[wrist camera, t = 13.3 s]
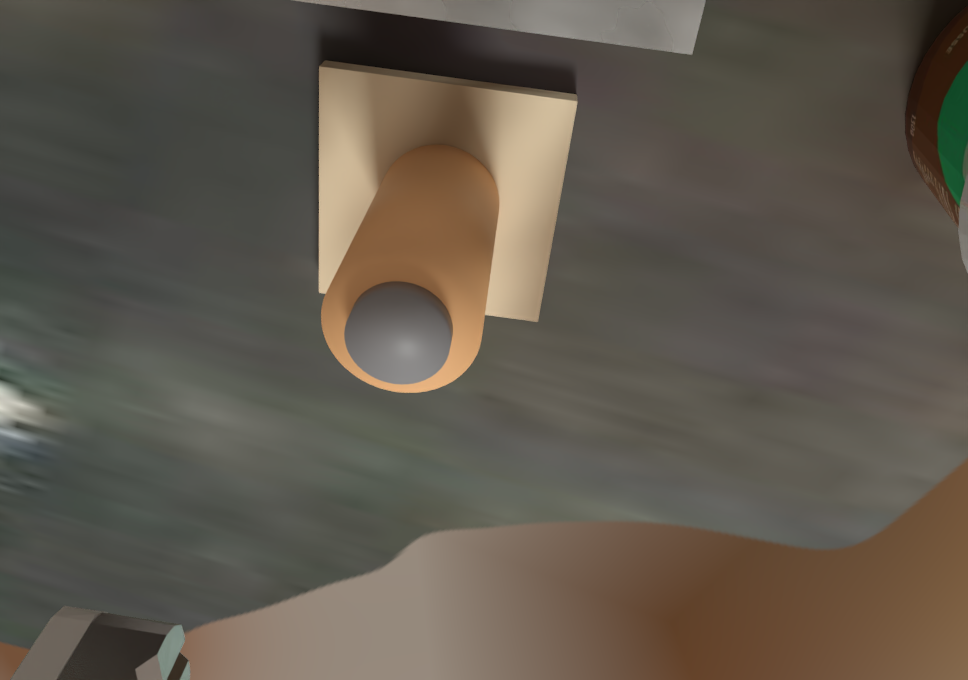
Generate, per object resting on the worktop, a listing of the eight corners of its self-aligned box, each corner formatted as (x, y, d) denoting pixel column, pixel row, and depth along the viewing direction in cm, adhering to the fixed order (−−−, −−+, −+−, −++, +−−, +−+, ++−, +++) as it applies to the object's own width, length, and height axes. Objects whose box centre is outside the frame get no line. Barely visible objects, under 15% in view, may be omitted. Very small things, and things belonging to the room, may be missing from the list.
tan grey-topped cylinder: (506, 153, 31) (489, 279, 22) (491, 264, 34) (470, 417, 25) (383, 136, 31) (314, 255, 22) (377, 248, 34) (314, 396, 25)
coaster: (576, 94, 31) (577, 101, 30) (538, 310, 36) (537, 321, 35) (325, 60, 31) (319, 66, 30) (324, 282, 36) (319, 292, 35)
